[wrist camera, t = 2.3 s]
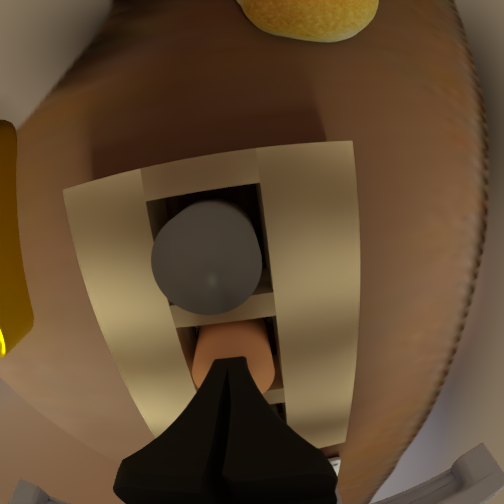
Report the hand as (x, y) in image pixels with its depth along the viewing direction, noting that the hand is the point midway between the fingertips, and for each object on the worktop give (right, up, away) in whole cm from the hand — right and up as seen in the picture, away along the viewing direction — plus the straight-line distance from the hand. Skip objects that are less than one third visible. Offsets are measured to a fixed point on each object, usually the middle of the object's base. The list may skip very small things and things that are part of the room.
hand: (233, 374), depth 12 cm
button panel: (0, +1, +4) cm, 4 cm away
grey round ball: (-1, +6, +1) cm, 6 cm away
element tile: (-21, +7, +2) cm, 22 cm away
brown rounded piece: (0, +1, +3) cm, 3 cm away
